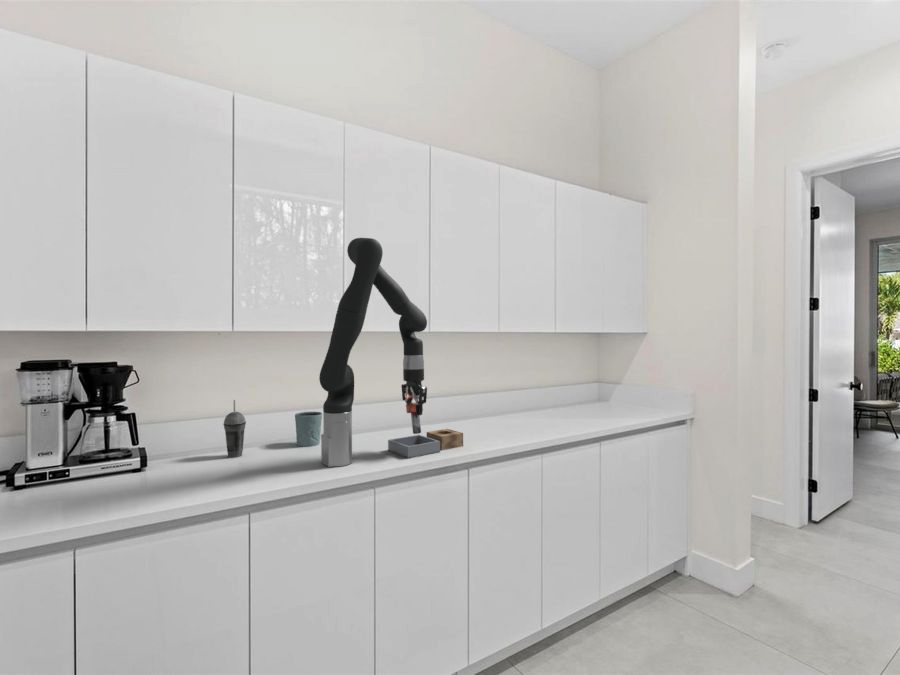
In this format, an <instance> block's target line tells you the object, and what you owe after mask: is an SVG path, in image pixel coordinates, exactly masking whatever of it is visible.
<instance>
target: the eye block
mask: <svg viewBox="0 0 900 675" xmlns="http://www.w3.org/2000/svg"><path fill="white" fill-rule="evenodd" d="M426 437H428V438H431V439H435V440H438V441H440V451H445V450H451V449H455V448H460V447H464V432H461V431H457V430H453V429H451V428H450V429H449V428H443V429H437V430H431V431H426Z"/></svg>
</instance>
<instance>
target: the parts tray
mask: <svg viewBox="0 0 900 675" xmlns="http://www.w3.org/2000/svg"><path fill="white" fill-rule="evenodd" d="M387 444H388V445H387V451H388V452H390V453H393V454H395V455H399V456H401V457H403V458H406V459H412V458H416V457H423V456H427V455H429V456H430V455H433V454H439V453H441V450H440V441H438V440H435V439H431V438H428V437H427V436H425V435H421V434H414V435H409V436H408V435H407V436H403V437H397V438H390V439H388V440H387Z"/></svg>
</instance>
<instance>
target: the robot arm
mask: <svg viewBox="0 0 900 675" xmlns="http://www.w3.org/2000/svg"><path fill="white" fill-rule="evenodd" d="M346 251H347V256H348V258H349V260H350V261H351V262H352V263H353V264H354V265H355V266H354V271H353V275H352V278H351V281H350V283H349V285H348V286H347V288H346V290H345V291H344V293H343V294H342V296H341V298H340V300H339V302H338V306H337V310H336V314H335V318H334V323H333V328H332V332H331V336H330V341H329V344H328V345H329V346H328V349H327V353H326V355H325V358H324V360H323V363H322V365H321V369H320V372H319V375H318V376H319V378H318V380H319V383H320V387H321V388H322V389H323V390H324V391H326V392H327V397H326V400H325V401H324V403H323V405H322V406H323V409H322V411H323V413H322V418H323V419H322V420H323V421H322V422H323V434H320V443H321V444H320V447H321V450H320V451H321V452H320V455H321V460H320V461H321V464H323V465H324V466H326V467H328V468H331V467H342V466H343V467H344V466H348V465H350V464H352V463H353V413H352V412H353V404H354V398H355V373H354V371H353V368H352V367H351V366H350V364H349V358H350V354H351V351H352V349H353V347H354V345H355V343H356V342H357V340H358V338H359V336H360V334H361V332H362V329H363V326H364V324H365V318H366V316H367V315H366V314H367V310H368V306H369V303H370V302H369V301H370V298H371V295H372V288H373V286H374V287H375V288H376V289H377V290H378V292H379V293H380V295H381V296H382V297H383V299H384V300H385V302H386V303H387V305H388V306H389V308H390V309H391V310H392V311H393V313H394V314H396V315H398V316H400V317H399V320H398V328H399V329H398V330H399V333H400V336H401V340H402V343H403V359H402V360H403V362H402V368H403V370H402V372H403V373H402V374H403V375H402V376H403V377H402V378H403V380H402V381H404V382H406V383H403V384H401V386H400V387H401V395H402V398H401V399H402V401H404V402H405V403H406V404H405V406H406V405H407V403H413V400H415V402H414V403H416V415H419V416H422V415H423V411H422V405H423V406H424V404H426V403H427V395H428V387H427V386H423V384H422V382H423V381H424V380H425V364H424V363H425V359H424V342H423V340H422V339H420V338H417V337H416V333H420V332H423V331H425V329H426V328H427V325H428V320H427V317H426V315H425V313H424V312H423V310H421V309H420V308H419V307H418V306H417V305H415V303H413V302H412V301H411V300H410V299H409V297H408V296H407V294H406V292H405V291H404V290H403V288H402V287H401V286H400V285H399V283H398V282H397V281H396V280H394V278H393V277H392V276H390V275H389V273H388V272H387V271H386V270H385V268H384V267H382V265H381V262H382V259H383V255H384V254H383V247H382V244H381V243H380V242H379V241H378V240H377V239H375V238H372V237H357V238H353V239H352V240H351V241H350V242H349V243H348V245H347V250H346Z"/></svg>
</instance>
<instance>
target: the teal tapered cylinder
mask: <svg viewBox="0 0 900 675" xmlns="http://www.w3.org/2000/svg"><path fill="white" fill-rule="evenodd" d="M322 418H323V413H322V412H320V411H301V412H296V413H295V414H294V420H295V433H296V446H297V447H302V448H308V447H309V448H311V447H315V446H319V445H320V443H321V428H322V427H321V426H322V420H323V419H322Z"/></svg>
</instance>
